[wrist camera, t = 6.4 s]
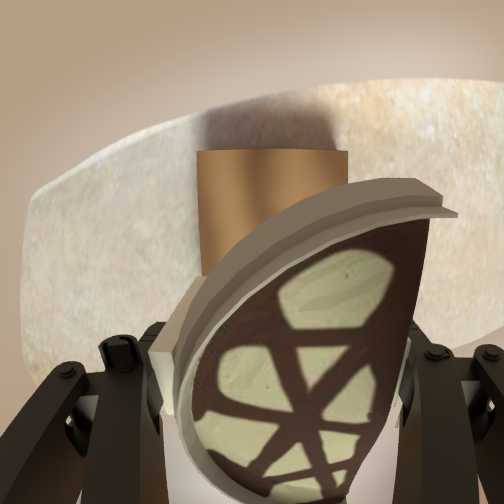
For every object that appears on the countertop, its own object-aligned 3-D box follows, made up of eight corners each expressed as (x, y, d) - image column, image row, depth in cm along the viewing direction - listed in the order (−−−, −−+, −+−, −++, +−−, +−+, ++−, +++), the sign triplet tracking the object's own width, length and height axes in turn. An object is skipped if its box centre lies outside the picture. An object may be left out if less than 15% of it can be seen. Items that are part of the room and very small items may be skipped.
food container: (217, 167, 15) (120, 169, 5) (344, 171, 14) (461, 184, 5) (221, 378, 18) (187, 519, 8) (321, 381, 17) (344, 523, 8)
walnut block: (336, 153, 29) (347, 150, 24) (330, 300, 34) (338, 321, 29) (208, 153, 30) (196, 151, 25) (214, 299, 34) (205, 320, 30)
